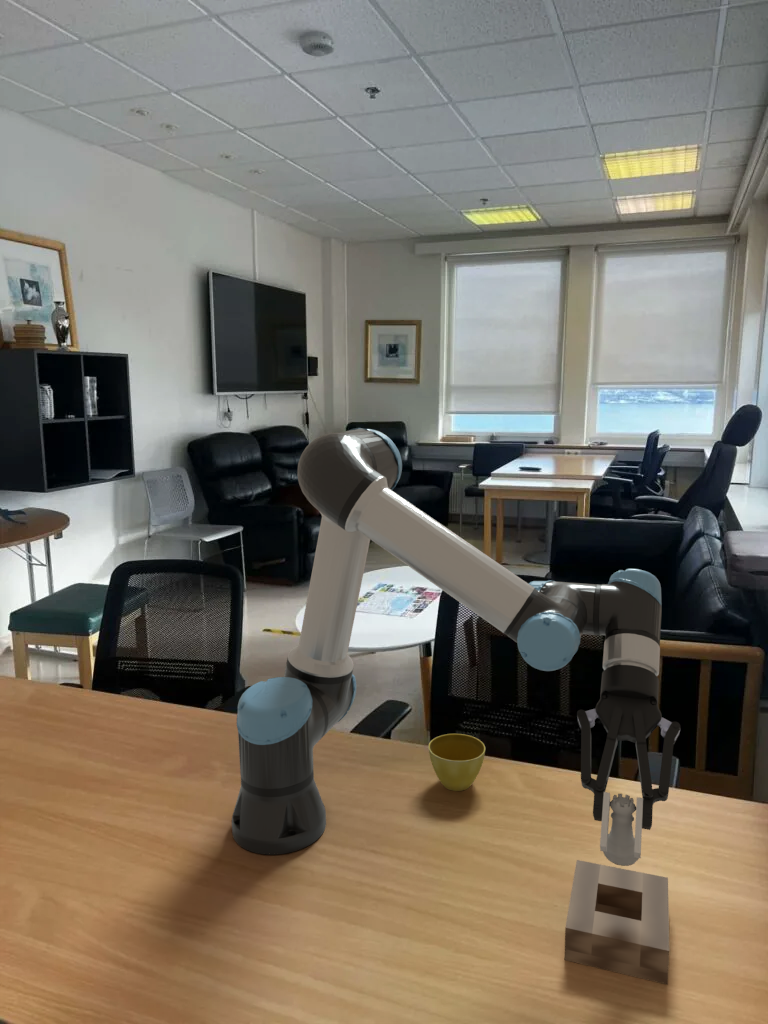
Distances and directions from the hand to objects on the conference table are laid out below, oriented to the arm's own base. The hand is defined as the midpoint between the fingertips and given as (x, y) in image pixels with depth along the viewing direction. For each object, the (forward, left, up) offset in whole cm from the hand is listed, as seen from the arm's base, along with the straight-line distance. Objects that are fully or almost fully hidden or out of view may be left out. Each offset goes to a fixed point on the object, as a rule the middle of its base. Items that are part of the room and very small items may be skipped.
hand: (620, 851), depth 91 cm
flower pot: (-29, +33, -14) cm, 46 cm away
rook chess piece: (0, +4, -3) cm, 5 cm away
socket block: (0, +4, -14) cm, 15 cm away
